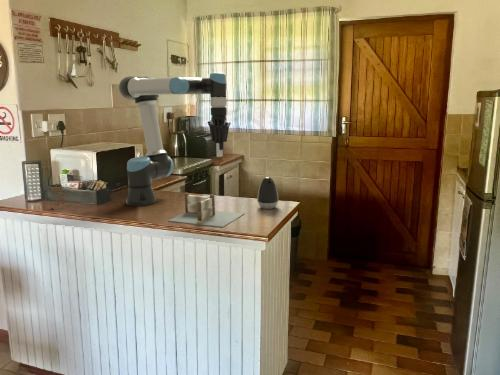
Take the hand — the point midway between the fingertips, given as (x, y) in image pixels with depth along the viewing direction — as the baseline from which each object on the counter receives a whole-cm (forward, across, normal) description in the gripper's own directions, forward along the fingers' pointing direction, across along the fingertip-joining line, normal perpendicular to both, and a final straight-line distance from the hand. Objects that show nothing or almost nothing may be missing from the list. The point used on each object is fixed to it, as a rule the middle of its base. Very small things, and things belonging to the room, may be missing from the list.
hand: (219, 156), depth 207 cm
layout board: (+25, -9, +18) cm, 32 cm away
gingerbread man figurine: (+26, +66, +48) cm, 85 cm away
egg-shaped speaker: (+25, -21, -11) cm, 34 cm away
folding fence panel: (+24, -9, +20) cm, 33 cm away
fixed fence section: (+25, -1, +16) cm, 29 cm away
